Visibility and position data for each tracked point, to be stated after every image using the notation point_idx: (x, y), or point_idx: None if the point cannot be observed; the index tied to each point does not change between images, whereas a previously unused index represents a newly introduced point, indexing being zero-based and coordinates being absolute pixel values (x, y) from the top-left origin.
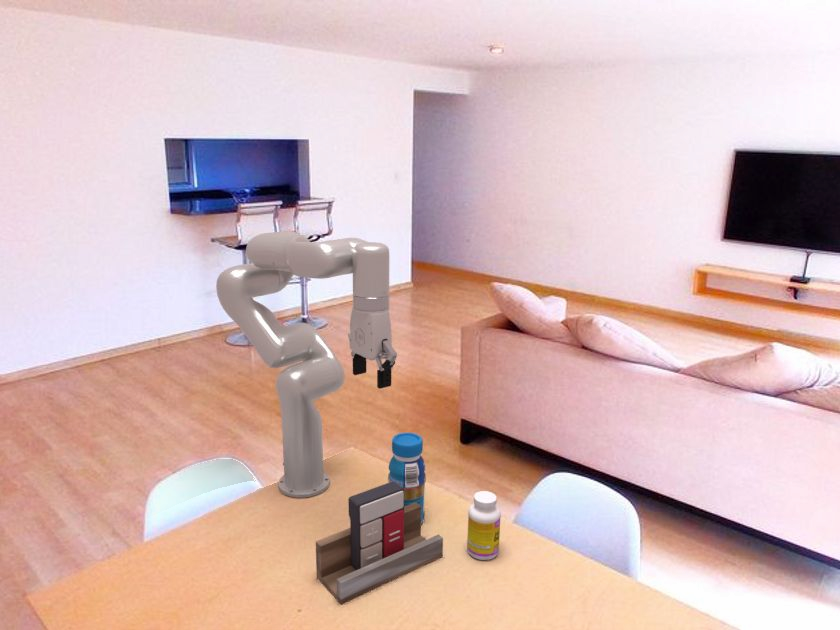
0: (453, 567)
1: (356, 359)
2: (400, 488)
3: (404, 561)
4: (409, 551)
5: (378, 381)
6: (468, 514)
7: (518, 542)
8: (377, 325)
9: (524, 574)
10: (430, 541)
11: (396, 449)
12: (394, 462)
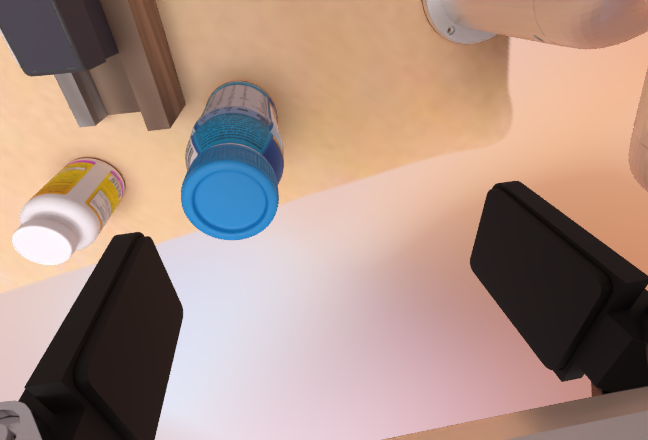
0: (59, 114)
1: (586, 292)
2: (20, 62)
3: None
4: None
5: (90, 276)
6: (68, 196)
7: (108, 237)
8: None
9: (15, 204)
10: (70, 97)
11: (212, 153)
12: (226, 134)
